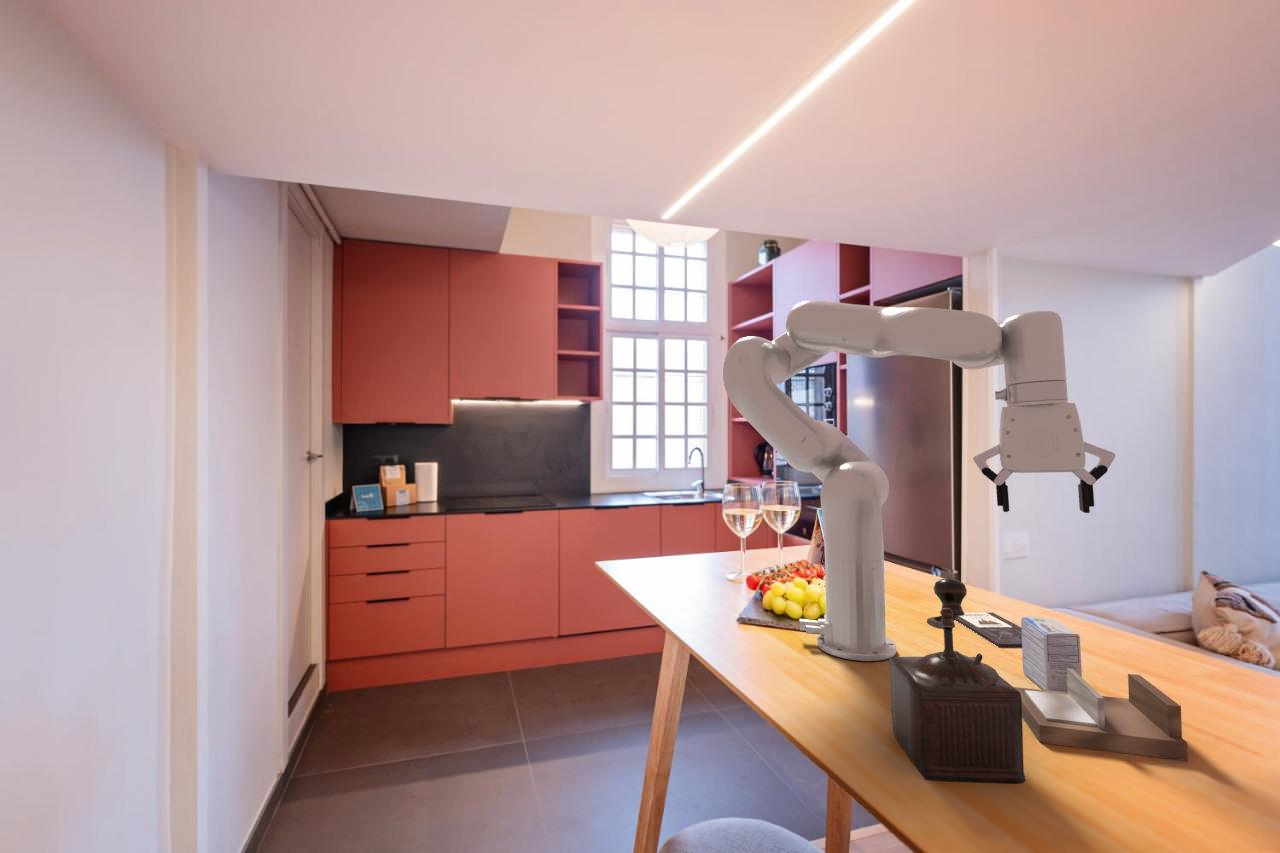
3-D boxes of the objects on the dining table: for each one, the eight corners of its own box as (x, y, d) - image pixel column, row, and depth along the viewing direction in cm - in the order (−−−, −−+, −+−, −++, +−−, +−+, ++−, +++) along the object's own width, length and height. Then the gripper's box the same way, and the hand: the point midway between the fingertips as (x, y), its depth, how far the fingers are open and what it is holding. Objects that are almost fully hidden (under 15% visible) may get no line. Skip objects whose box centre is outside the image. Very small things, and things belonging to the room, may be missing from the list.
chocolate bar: (998, 644, 99) (946, 612, 117) (998, 649, 99) (947, 617, 117) (1052, 644, 98) (992, 612, 116) (1052, 649, 98) (992, 617, 116)
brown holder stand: (1039, 742, 68) (1038, 694, 68) (1011, 701, 78) (1010, 660, 79) (1188, 761, 64) (1186, 710, 64) (1136, 715, 74) (1135, 671, 74)
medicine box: (1083, 698, 79) (1081, 634, 79) (1047, 696, 80) (1045, 633, 80) (1055, 675, 87) (1053, 617, 87) (1021, 673, 88) (1020, 615, 88)
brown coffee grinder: (1035, 785, 60) (1029, 609, 60) (923, 781, 61) (919, 608, 61) (963, 714, 75) (959, 574, 76) (875, 711, 76) (872, 574, 77)
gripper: (969, 399, 87) (977, 513, 87) (1115, 389, 79) (1125, 515, 78) (969, 401, 94) (976, 508, 93) (1103, 392, 86) (1112, 509, 85)
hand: (1044, 511), depth 86 cm, fingers open, 9 cm apart
